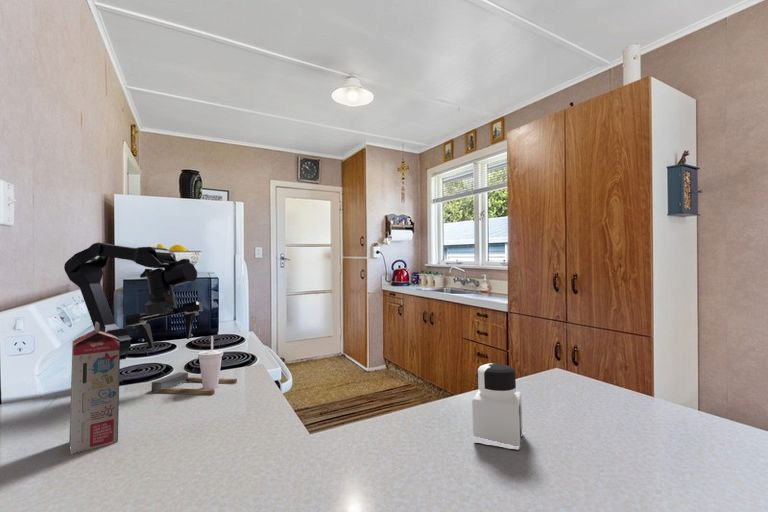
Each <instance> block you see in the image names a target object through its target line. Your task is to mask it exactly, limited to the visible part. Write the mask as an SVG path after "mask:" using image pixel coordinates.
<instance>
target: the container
mask: <svg viewBox="0 0 768 512" xmlns="http://www.w3.org/2000/svg"><path fill="white" fill-rule="evenodd" d="M477 377H478V378H477V380H478V381H477V382H478V385H477V386H478V387H477V388H478V390H477V391H476V393H475V394H474V396H473V398H472V400H471V404H472V405H471V407H472V433H473V434H472V437H473V436H476V437H480V438H484V439H488V440H492V441H497V442H500V443H504V444H510V445H513V446H520V447H521V445H520V441H521V442H522V440H521V435H522V436H523V434H522V429H523V428H524V427H523V407H522V405H523V404H522V393H521V391H517V383H516V370H515V369H514V368H513V367H512V366H510V365H507V364H503V363H496V362H495V363H492V362H491V363H490V362H489V363H485V364H482V365H479V367H478V369H477ZM523 430H524V429H523Z"/></svg>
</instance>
